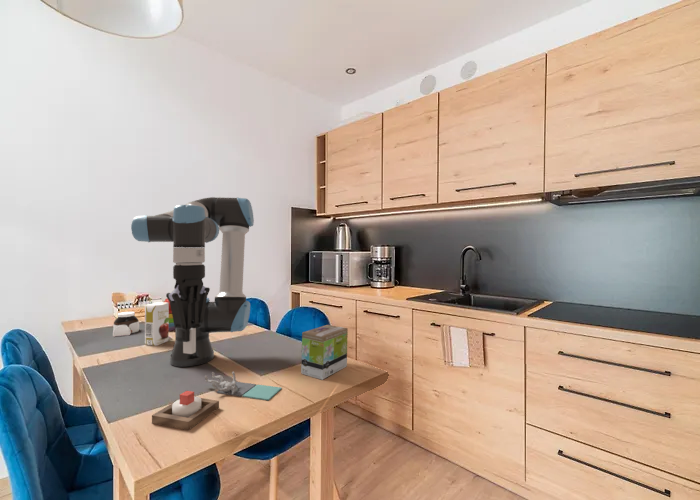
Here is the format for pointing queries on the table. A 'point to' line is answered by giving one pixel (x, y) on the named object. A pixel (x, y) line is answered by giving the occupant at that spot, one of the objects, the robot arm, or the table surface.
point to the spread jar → (125, 324)
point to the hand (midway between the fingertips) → (189, 352)
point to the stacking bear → (170, 317)
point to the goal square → (262, 392)
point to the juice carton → (156, 323)
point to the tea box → (324, 351)
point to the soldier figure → (223, 383)
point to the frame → (185, 423)
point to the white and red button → (186, 405)
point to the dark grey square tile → (240, 389)
